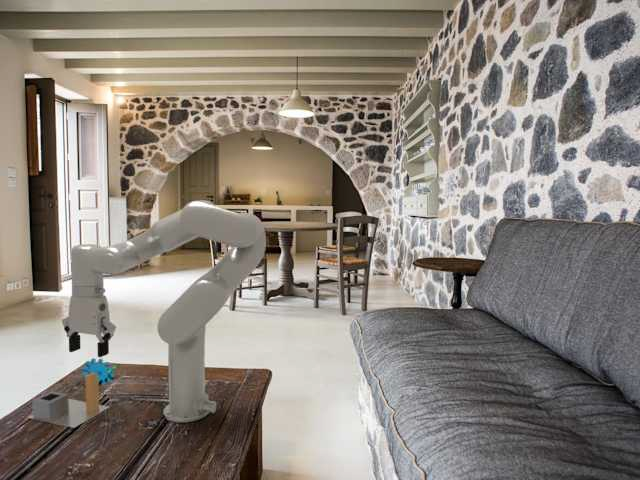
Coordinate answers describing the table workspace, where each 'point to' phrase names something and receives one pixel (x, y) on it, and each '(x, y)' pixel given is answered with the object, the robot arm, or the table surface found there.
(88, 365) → the blue spiky virus toy
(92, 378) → the tan square peg
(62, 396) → the grey square socket base
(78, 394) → the table surface
